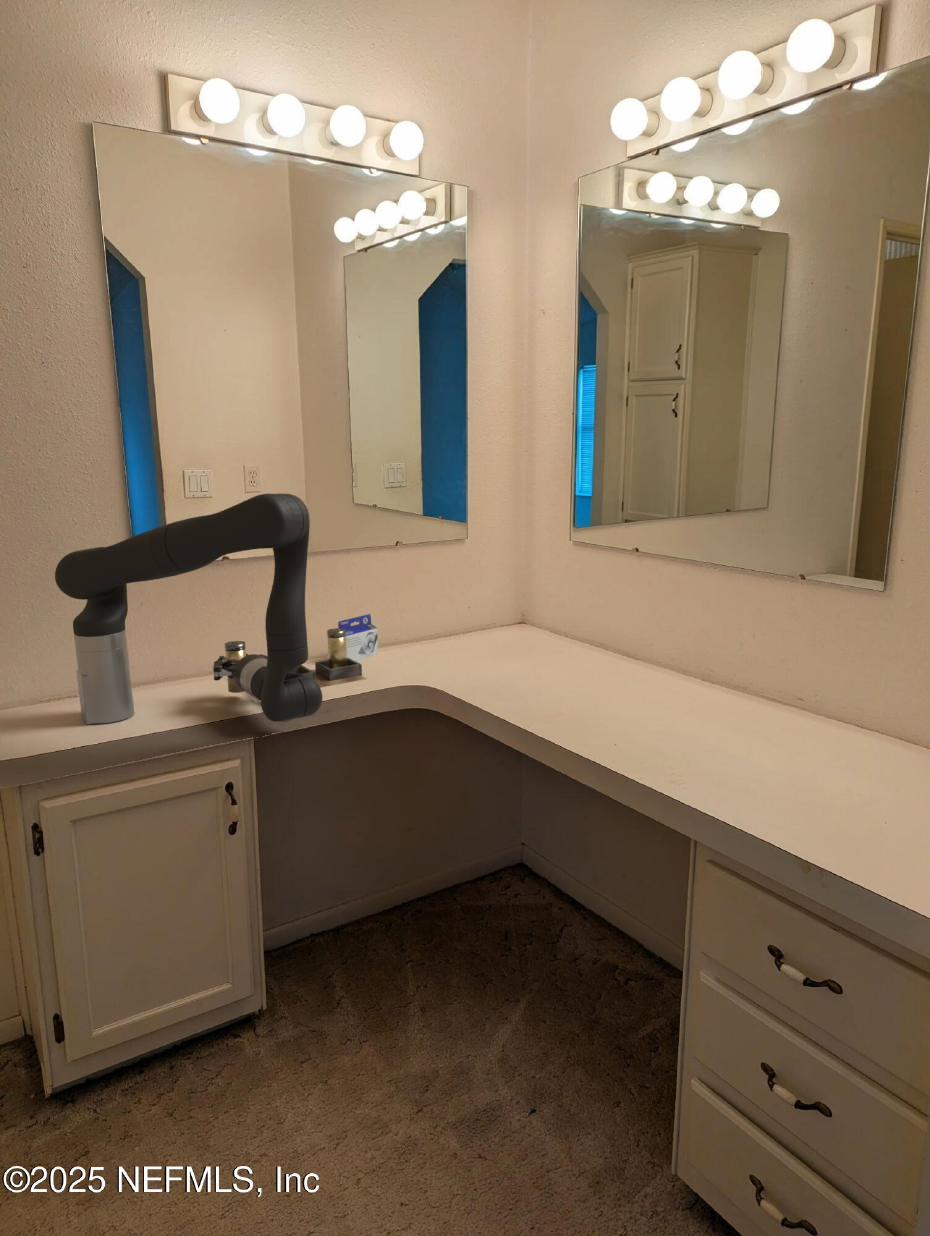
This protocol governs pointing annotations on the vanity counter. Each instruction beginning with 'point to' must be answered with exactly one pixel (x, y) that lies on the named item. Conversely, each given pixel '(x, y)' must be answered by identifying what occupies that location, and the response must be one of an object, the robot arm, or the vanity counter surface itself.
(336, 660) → the cylinder
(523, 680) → the vanity counter surface
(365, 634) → the ink box
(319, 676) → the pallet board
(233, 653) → the billet
